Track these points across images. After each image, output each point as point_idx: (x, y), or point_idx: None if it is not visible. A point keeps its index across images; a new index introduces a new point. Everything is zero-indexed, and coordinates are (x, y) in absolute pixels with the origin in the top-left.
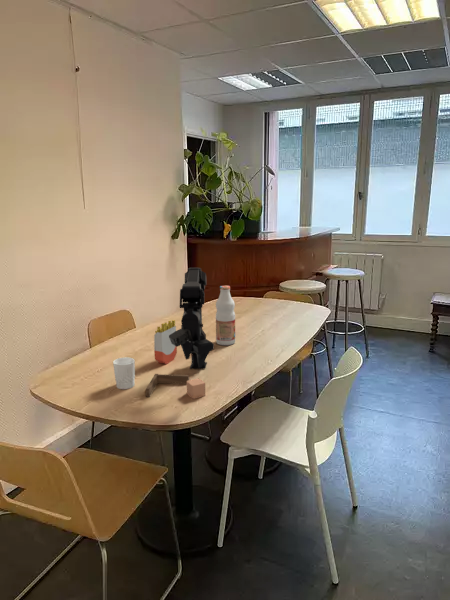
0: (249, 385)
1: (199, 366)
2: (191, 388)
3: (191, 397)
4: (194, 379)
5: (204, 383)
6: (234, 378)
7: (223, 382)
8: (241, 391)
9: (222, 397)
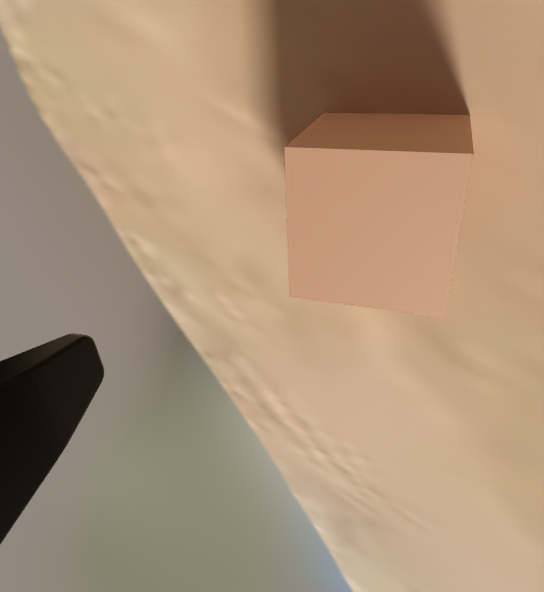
0: (303, 501)
1: (52, 346)
2: (328, 136)
3: (356, 113)
4: (445, 261)
5: (290, 287)
6: (451, 524)
7: (446, 453)
8: (256, 432)
9: (233, 311)
